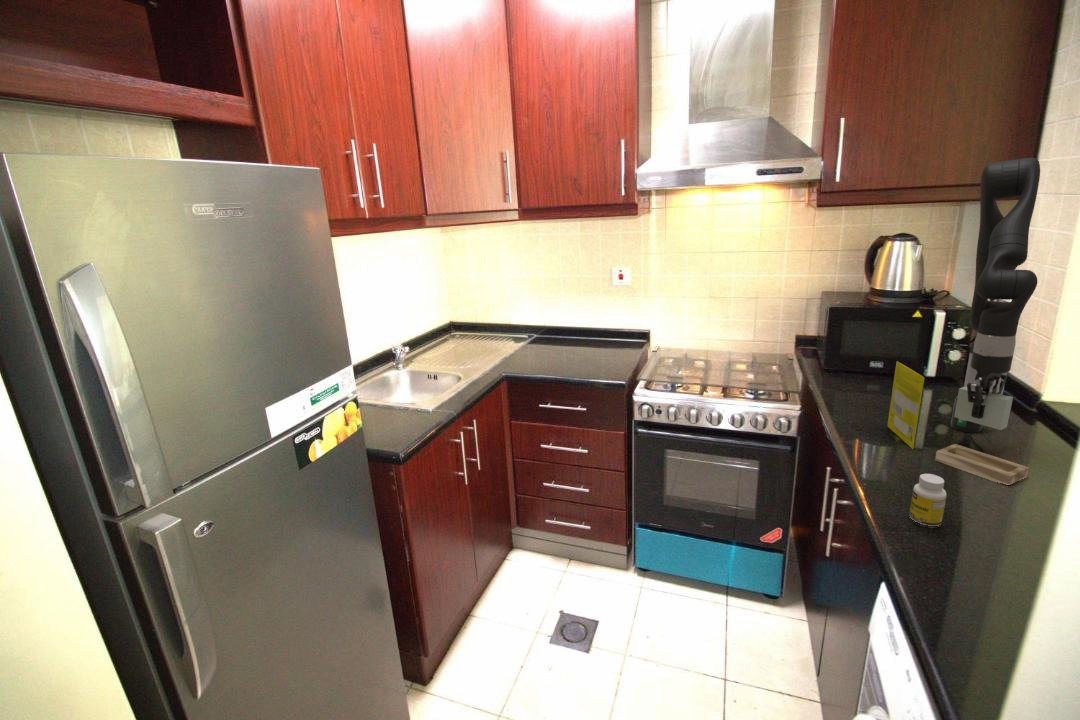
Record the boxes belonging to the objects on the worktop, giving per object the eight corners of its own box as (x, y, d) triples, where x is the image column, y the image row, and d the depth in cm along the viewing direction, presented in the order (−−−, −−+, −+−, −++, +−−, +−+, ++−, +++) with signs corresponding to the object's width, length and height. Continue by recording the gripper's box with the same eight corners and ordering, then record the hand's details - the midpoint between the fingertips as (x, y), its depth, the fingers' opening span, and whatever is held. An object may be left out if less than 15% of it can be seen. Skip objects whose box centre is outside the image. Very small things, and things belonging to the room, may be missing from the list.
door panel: (960, 414, 136) (965, 386, 133) (1007, 427, 127) (1013, 397, 125) (953, 417, 134) (958, 388, 132) (1000, 430, 126) (1006, 400, 123)
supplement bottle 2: (962, 433, 142) (970, 393, 138) (944, 424, 148) (951, 385, 145) (987, 432, 142) (995, 392, 138) (968, 423, 148) (975, 384, 145)
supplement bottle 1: (902, 514, 107) (908, 472, 105) (926, 512, 108) (933, 470, 105) (923, 529, 102) (930, 486, 100) (948, 527, 103) (956, 483, 100)
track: (953, 452, 132) (954, 443, 131) (1026, 477, 119) (1028, 467, 118) (935, 460, 128) (936, 451, 128) (1008, 486, 115) (1010, 476, 115)
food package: (915, 449, 134) (926, 377, 129) (910, 449, 135) (921, 377, 129) (889, 426, 149) (898, 360, 143) (885, 426, 149) (894, 360, 144)
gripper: (990, 343, 131) (978, 405, 136) (959, 353, 126) (948, 417, 131) (1027, 349, 125) (1013, 414, 130) (996, 359, 119) (983, 427, 124)
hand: (980, 415), depth 130 cm, fingers closed on door panel, 3 cm apart
